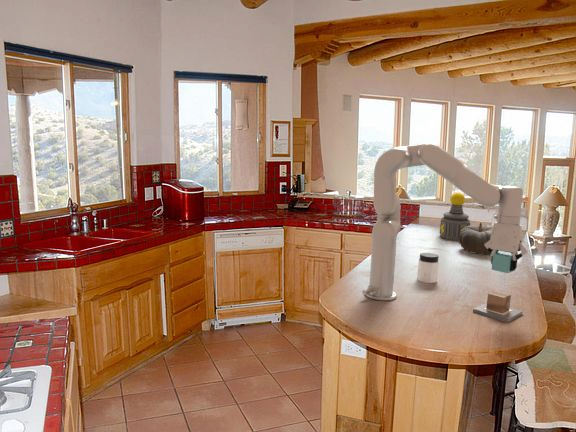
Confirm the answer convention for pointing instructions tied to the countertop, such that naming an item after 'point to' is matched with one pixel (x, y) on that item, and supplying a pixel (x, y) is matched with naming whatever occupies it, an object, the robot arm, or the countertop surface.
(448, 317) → the countertop surface
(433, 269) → the jar
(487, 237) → the gourd
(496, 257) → the teal block
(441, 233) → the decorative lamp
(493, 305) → the walnut block
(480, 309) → the grey square plate
